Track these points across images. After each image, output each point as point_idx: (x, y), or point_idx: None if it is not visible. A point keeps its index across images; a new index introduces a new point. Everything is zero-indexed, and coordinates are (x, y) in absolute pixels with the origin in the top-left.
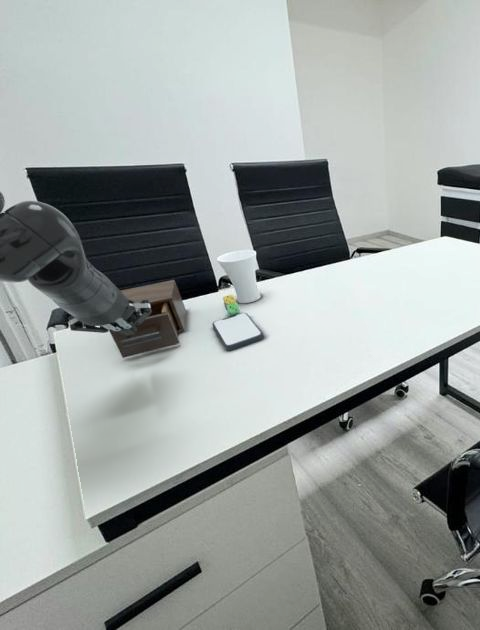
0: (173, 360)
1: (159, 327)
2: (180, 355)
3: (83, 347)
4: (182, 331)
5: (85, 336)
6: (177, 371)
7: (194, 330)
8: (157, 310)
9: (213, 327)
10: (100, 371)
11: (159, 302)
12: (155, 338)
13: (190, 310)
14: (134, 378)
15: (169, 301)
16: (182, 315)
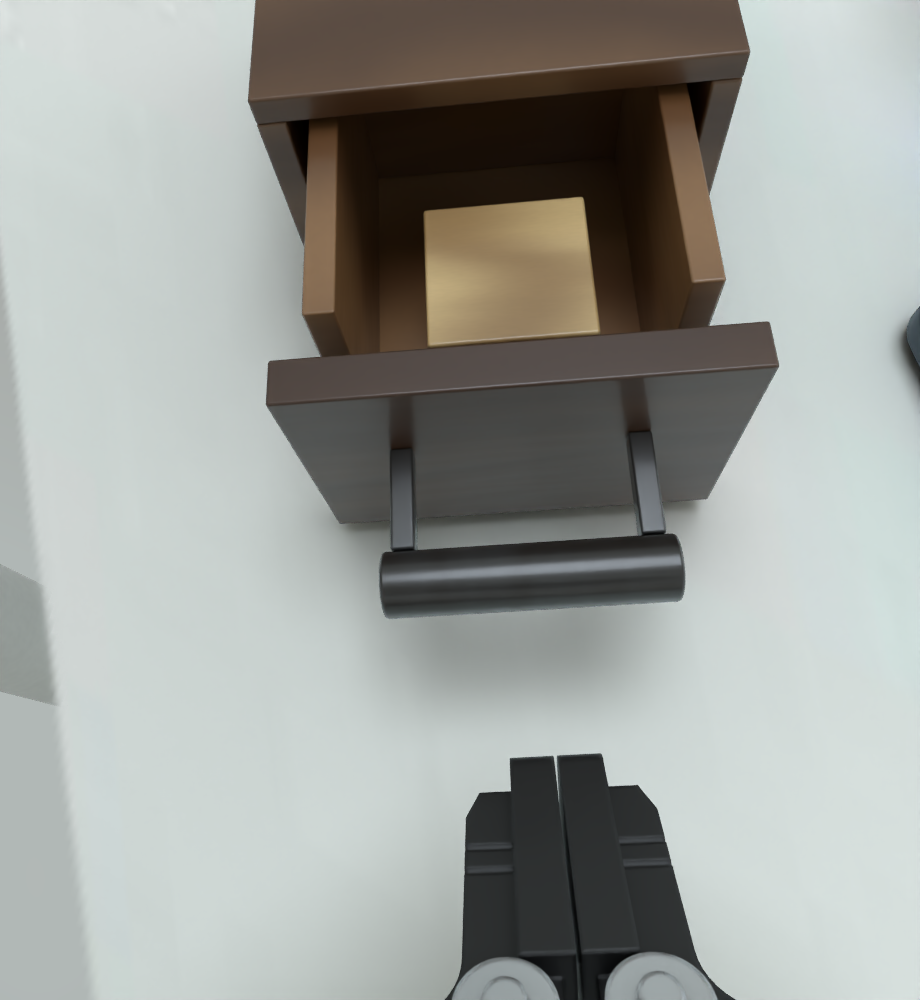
0: (688, 709)
1: (649, 434)
2: (726, 653)
3: (89, 214)
4: None
5: (89, 85)
6: (759, 928)
7: (749, 302)
8: None
9: (913, 348)
10: (213, 595)
11: (636, 82)
12: (637, 601)
13: None
14: (448, 847)
15: (716, 84)
16: None
